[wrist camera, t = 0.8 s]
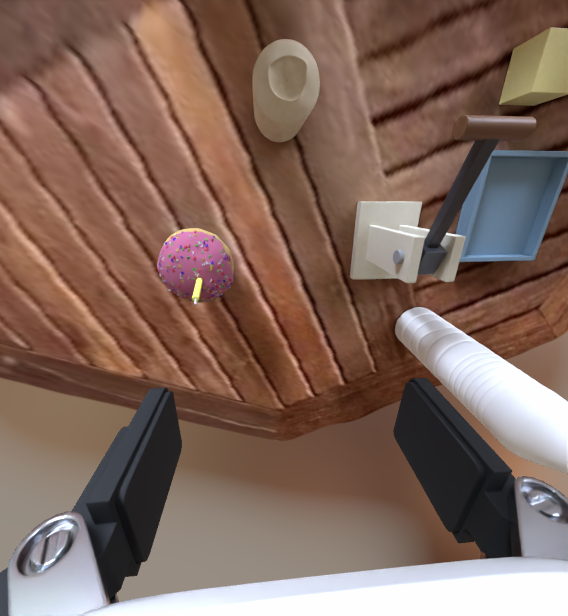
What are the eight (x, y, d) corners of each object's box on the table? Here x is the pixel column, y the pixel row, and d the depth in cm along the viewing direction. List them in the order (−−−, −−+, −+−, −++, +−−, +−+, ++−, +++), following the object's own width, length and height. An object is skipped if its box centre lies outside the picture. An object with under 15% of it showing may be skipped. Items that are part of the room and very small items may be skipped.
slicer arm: (456, 110, 18) (475, 119, 17) (521, 112, 19) (546, 121, 17) (391, 260, 28) (400, 275, 26) (435, 259, 28) (446, 274, 27)
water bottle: (386, 324, 41) (549, 486, 18) (422, 298, 40) (646, 436, 17) (412, 358, 44) (580, 534, 21) (446, 335, 43) (664, 495, 20)
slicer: (357, 201, 33) (404, 203, 22) (417, 201, 34) (491, 203, 23) (349, 277, 37) (386, 310, 26) (403, 275, 38) (460, 307, 27)
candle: (291, 72, 28) (307, 11, 18) (311, 129, 30) (334, 99, 21) (245, 98, 28) (238, 51, 19) (267, 152, 30) (271, 132, 21)
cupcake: (250, 263, 35) (246, 293, 24) (204, 301, 37) (181, 346, 26) (203, 210, 32) (175, 217, 21) (156, 254, 34) (106, 282, 23)
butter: (513, 48, 29) (550, 26, 25) (550, 50, 29) (592, 29, 25) (498, 104, 30) (531, 92, 27) (533, 105, 31) (570, 93, 27)
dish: (475, 152, 32) (489, 150, 30) (557, 154, 33) (575, 151, 31) (448, 258, 37) (459, 262, 36) (520, 257, 38) (534, 260, 36)
